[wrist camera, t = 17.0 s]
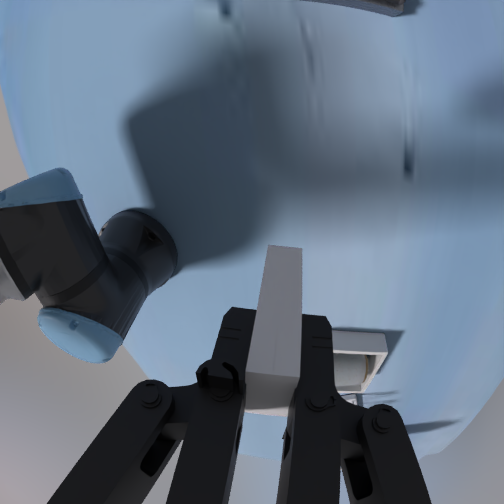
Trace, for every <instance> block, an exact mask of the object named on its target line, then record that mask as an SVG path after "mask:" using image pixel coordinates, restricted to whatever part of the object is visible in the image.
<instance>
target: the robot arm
mask: <svg viewBox="0 0 504 504" xmlns="http://www.w3.org/2000/svg"><path fill="white" fill-rule="evenodd" d="M82 198H83V195H82V194H80V192H79V190H78V187H77V185H76V183H75V181H74V179H73V176H72V174H71V173H70V172H69V171H68V170H67V169H65V168H55V169H52V170H50V171H47V172H44V173H42V174H39V175H37V176H34V177H32V178H29V179H27V180H24V181H22V182H20V183H17V184H15V185H13V186H11V187H9V188H7V189H4V190H2V191H0V304H2V303H3V302H4V301H5V300H6V299H10V298H11V299H16V300H21V301H24V300H26V299H27V298H28V297H29V296H31V295H32V294H33V293H35V294H36V296H37V297H38V299H39V300H40V302H41V304H42V305H43V308H42V309H41V310H40V311H39V315H38V323H39V327H40V329H41V330H42V331H43V333H44V334H45V335H46V336H47V337H48V339H50V340H51V341H52V342H53V343H54V344H55V345H56V346H58V347H59V348H61V349H62V350H63V351H65V352H67V353H68V354H70V355H72V356H74V357H76V358H78V359H81V360H84V361H86V362H90V363H105V362H107V361H109V360H110V359H111V358H112V357H113V356H114V354H115V353H116V351H117V349H118V347H119V346H121V345H122V343H123V341H124V339H125V337H126V335H127V333H128V331H129V329H130V327H131V325H132V323H133V321H134V320H135V318H136V316H137V314H138V312H139V310H140V308H141V307H142V305H143V303H144V301H145V300H146V298H147V296H148V295H150V294H151V293H152V292H153V291H154V290H156V289H157V288H159V287H161V286H162V285H164V284H165V283H166V282H167V281H168V280H169V278H170V277H171V275H172V273H173V272H174V270H175V267H176V264H177V251H176V247H175V244H174V242H173V240H172V238H171V236H170V235H169V233H168V232H167V231H166V229H165V228H164V227H163V226H162V225H161V224H160V223H158V222H157V221H156V220H154V219H153V218H151V217H150V216H148V215H145V214H143V213H140V212H135V211H124V212H120V213H117V214H115V215H114V216H112V217H111V218H110V219H109V220H108V221H107V222H106V223H105V224H104V225H103V227H102V228H101V230H100V233H99V235H98V234H97V232H96V230H95V228H94V225H93V223H92V221H91V219H90V216H89V214H88V212H87V209H86V207H85V204H84V201H83V199H82ZM196 377H197V381H198V382H197V383H194V384H192V385H188V386H179V387H168V386H167V385H166V384H164V383H163V382H161V381H158V380H145V381H142V382H140V383H138V384H137V385H136V386H135V387H134V388H133V389H132V390H131V391H130V393H129V394H128V395H127V397H126V398H125V399H124V401H123V402H122V403H121V405H120V406H119V407H118V409H117V410H116V411H115V413H114V414H113V415H112V417H111V418H110V419H109V420H108V422H107V423H106V424H105V426H104V427H103V428H102V430H101V431H100V432H99V434H98V435H97V437H96V438H95V439H94V440H93V442H92V443H91V444H90V446H89V447H88V448H87V450H86V451H85V452H84V454H83V455H82V456H81V458H80V459H79V460H78V462H77V463H76V465H75V466H74V467H73V469H72V470H71V471H70V473H69V474H68V475H67V477H66V478H65V479H64V481H63V482H62V483H61V485H60V486H59V488H58V489H57V490H56V492H55V493H54V495H53V496H52V497H51V499H50V500H49V501H48V503H47V504H142V502H143V501H144V499H145V498H146V496H147V495H148V493H149V491H150V490H151V489H152V487H153V485H154V484H155V482H156V481H157V479H158V478H159V476H160V474H161V473H162V471H163V469H164V468H165V466H166V465H167V463H168V461H169V460H170V458H171V457H172V455H173V454H174V452H175V450H176V449H177V447H178V446H179V444H180V442H181V440H184V441H183V444H182V448H181V451H180V455H179V458H178V462H177V465H176V469H175V472H174V476H173V480H172V483H171V487H170V491H169V494H168V498H167V502H166V504H228V501H229V496H230V491H231V486H232V481H233V475H234V470H235V465H236V459H237V454H238V448H239V443H240V437H241V432H242V422H243V416H244V412H248V413H256V414H264V415H273V416H284V417H287V415H288V419H287V427H286V429H285V432H284V435H283V438H282V439H284V444H283V453H282V463H281V471H280V478H279V486H278V494H277V501H276V504H339V496H340V495H339V494H340V468H342V472H343V476H344V480H345V484H346V488H347V492H348V496H349V501H350V504H432V503H431V500H430V497H429V494H428V490H427V487H426V484H425V481H424V478H423V475H422V472H421V469H420V467H419V463H418V461H417V458H416V455H415V452H414V449H413V447H412V444H411V441H410V438H409V436H408V433H407V431H406V428H405V425H404V423H403V420H402V418H401V416H400V414H399V413H398V411H397V410H396V409H394V408H393V407H392V406H389V405H385V404H377V405H374V406H372V407H370V408H369V409H367V408H364V407H361V406H358V405H355V404H352V403H350V402H348V401H346V400H345V399H343V398H342V397H341V396H340V394H339V393H338V391H337V389H336V386H335V376H334V355H333V340H332V326H331V325H330V323H329V321H328V320H327V318H326V316H318V315H307V314H302V248H295V247H285V246H276V245H268V250H267V255H266V261H265V267H264V273H263V278H262V284H261V289H260V295H259V301H258V306H257V310H253V309H245V308H237V307H231V309H230V310H229V311H228V312H227V313H226V314H225V315H224V317H223V320H222V324H221V328H220V331H219V334H218V338H217V341H216V344H215V348H214V351H213V355H212V358H211V359H210V360H207V361H205V362H204V363H203V364H201V365H200V366H199V368H198V370H197V371H196Z"/></svg>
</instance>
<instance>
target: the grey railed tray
mask: <svg viewBox="0 0 504 504" xmlns="http://www.w3.org/2000/svg"><path fill="white" fill-rule="evenodd" d="M384 1H388V2H391V3H395V4H403V3H405V0H384Z"/></svg>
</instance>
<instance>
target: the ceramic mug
mask: <svg viewBox="0 0 504 504" xmlns="http://www.w3.org/2000/svg"><path fill="white" fill-rule="evenodd" d="M333 355H334V376H335V386H349V385H358V384H362V383H364V382H365V380H366V378H367V375H368V358H367V356H366V354H346V353H333Z"/></svg>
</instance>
